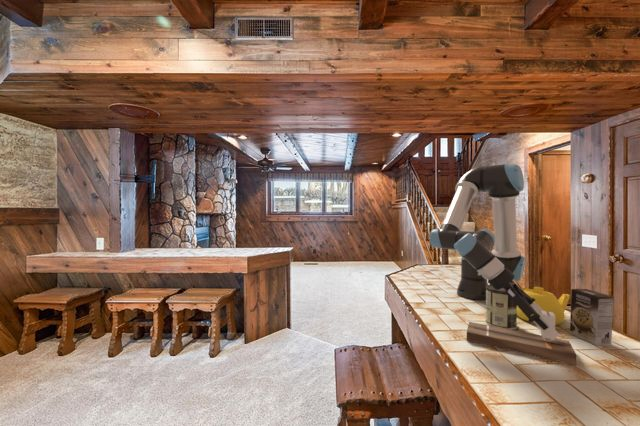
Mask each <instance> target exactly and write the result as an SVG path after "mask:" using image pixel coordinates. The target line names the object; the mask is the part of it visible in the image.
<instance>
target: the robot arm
mask: <svg viewBox="0 0 640 426" xmlns="http://www.w3.org/2000/svg"><path fill="white" fill-rule="evenodd" d="M524 184H525V179H524V174H523V170H522V168H521V166H519V164H516V163H514V164H512V163H511V164H510V163H506V164H505V163H504V164H495V165H486V166H485V165H482V166H481V165H480V166H477V167H476V166H475V167H473V168H472V169H470V170H469V171H467V172H465V173H464V174H463V175H462V176H461V177H460V178H459V179H458V181H457V182H456V184H455V187H454V191H455V193H454V195H453V197H452V199H451V201H450V202H451V203H450V204H449V207H448V210H447V211H446V214H445V216H444V219H443V221H442V223H441V225H440V227H439V228H437V229H436V228H434V229H432V230H431V231H430V233H429V244H430V246H431V247H433V248H435V249H436V248H437V249H441V250H452V251H457V253H458V254H459V255H460V257H461V258H460V260H461V261H460V262H461V264H460V265H461V269H460V271H461V272H460V277H461V278H460V281H459V283H458V286H457V288H456V294H457V295H458V296H460V297H462V298H466V299H470V300H478V301H486V285H491V286H492V287H493V288H494V289H495V290H499V289H501V288H504V289H505V291H506V292H505V293H506V295H508V296H509V297H510V298H511V299H512V300H513V301H514V303H515V304H516V305H517V306H518V307H519V308H520V309H521V311H522V312H523V313H524V314H525V315H526V316H527V317H528V318H529V320H528V321H529V322H528V321H527V322H528V323H531V322H534V323H533V324H535V325H536V326H537V327H538V328H539V329H540V331H541V330H542V331H543V332H544V333H545V334H546V335H547V336H548V337H549V338H550V339H551V340H553V339H555V338H558V337H560V336H561V334H560V333H559V332H558V331H557V329H556V328H555V329H554V328H553V327H552V326H551V325H550V324H549V323H548V322H547V321H546V320H545V319H544V318H543V317H542V316H541V311H543V310H542V309H541V308H540V307H539V306H538V305H537V304H536V303H535V302H534V301H535V299H534V298H531V297H530V296H529V295H527V294H526V293H525V292H524V291H523V290H522V289H523V288H521V287H519V285H518V284H517V283H515V282H520V281H521V280H522V279H523V275H524V271H525V267H526V257H525V256H523V255H522V253H521V251H520V249H518V248H517V247H518V246H517V245H518V244H517V211H516V210H517V208H516V206H517V204H516V198H518V197H519V196H520V192H523V191H524V188H525V185H524ZM480 192H481V193H488V197H489V198H490V199H491V200H492V213H493V214H492V217H493V232H491V231H490V230H488V229H478V230H476V231H470V230H469V231H466V230H462V228H463V225H464V223H465V220H466V217H467V214H468V212H469V209H470V207H471V205H472V202H473V199H474V197H476V196H477V195H478V194H479V193H480ZM533 302H534V303H533ZM532 314H534V315H532ZM531 315H532V316H531Z"/></svg>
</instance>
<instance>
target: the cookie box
mask: <svg viewBox="0 0 640 426" xmlns="http://www.w3.org/2000/svg"><path fill="white" fill-rule="evenodd" d="M614 300H615V296H611V295H609V294H605V293H601V292H598V291H595V290H592V289H588V288H572V289H571V291H570V317H569V318H570V319H569V321H570V322H569V334H570V335H572V336H574V337H576V338H579V339H580V340H583V341H585V342H587V343H590V344H592V345H594V346H611V345H612V340H613V339H612V338H613V323H614V322H613V320H614V305H615V304H614V303H615V301H614Z"/></svg>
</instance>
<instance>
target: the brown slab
mask: <svg viewBox="0 0 640 426" xmlns="http://www.w3.org/2000/svg"><path fill="white" fill-rule="evenodd" d="M466 341H467V342H471V343H476V344H479V345H483V346H489V347H494V348H497V349H502V350H506V351H510V352H517V353H521V354H525V355H529V356H534V357H538V358H543V359H547V360H551V361H557V362H560V363H565V364H570V365H575V366H577V353H576V351H575V349H574V347H573V346H572V344H571V342H570V340H567V339H563V338H562V339H561V338H558V337H556V338H555V340H554V339H553V340H551V339H550V342H547V341H545V338H543V337H542V335H540V334H536V333H530V332H525V331H519V330H516V329H514V330H510V329H505V328H499V327H494V326H490V325H488V324H483V323H476V322H472V321H468V325H467V330H466Z"/></svg>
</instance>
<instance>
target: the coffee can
mask: <svg viewBox="0 0 640 426" xmlns="http://www.w3.org/2000/svg"><path fill="white" fill-rule="evenodd" d="M505 292H506V291H505V289H504V288H501V289H499V290H495V289H494V288H493V287H492V286H491V285H490V284H488V285H486V300H485V323H486V325H489V326H494V327H499V328H505V329H510V330H516V329H517V328H518V327H517V325H518V324H517V322H518V320H517V318H518V316H517V305H516V304H515V303H514V301H513V300H512V299H511V298H510V297H509V296H508V295H506V293H505Z"/></svg>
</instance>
